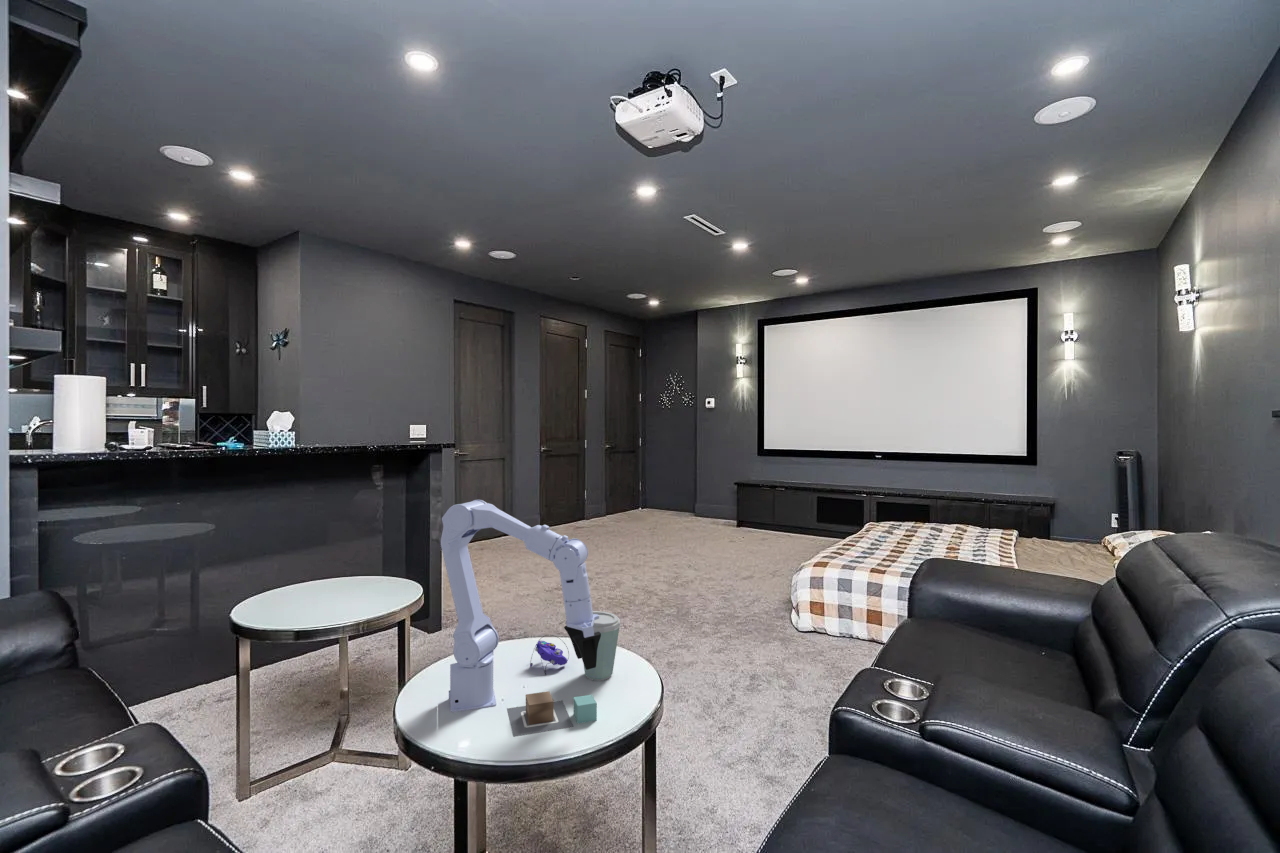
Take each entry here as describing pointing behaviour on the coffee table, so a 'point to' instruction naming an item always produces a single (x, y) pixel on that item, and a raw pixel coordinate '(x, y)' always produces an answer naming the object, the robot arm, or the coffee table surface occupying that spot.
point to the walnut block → (539, 708)
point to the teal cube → (585, 709)
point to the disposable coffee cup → (605, 645)
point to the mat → (523, 727)
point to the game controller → (550, 653)
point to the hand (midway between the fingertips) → (586, 662)
